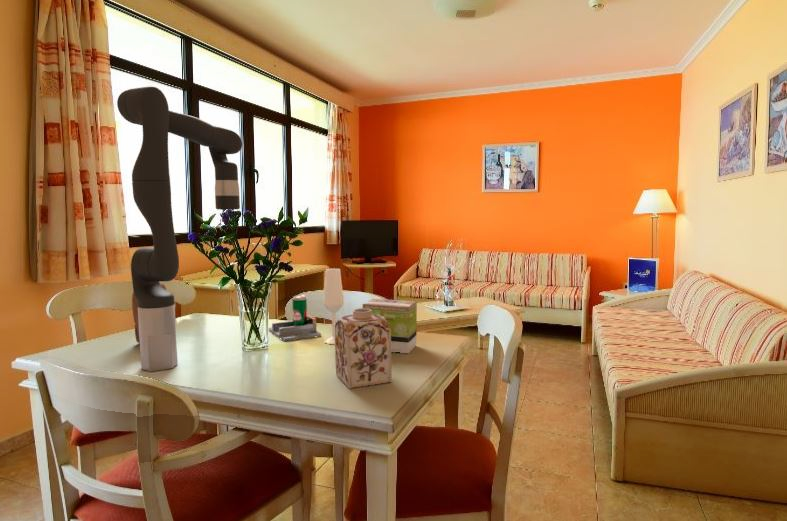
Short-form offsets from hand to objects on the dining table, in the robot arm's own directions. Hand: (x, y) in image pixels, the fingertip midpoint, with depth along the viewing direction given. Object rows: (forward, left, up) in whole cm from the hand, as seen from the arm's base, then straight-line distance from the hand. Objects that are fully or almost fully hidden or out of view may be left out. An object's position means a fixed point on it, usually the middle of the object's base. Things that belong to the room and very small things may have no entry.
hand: (229, 244), depth 164 cm
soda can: (-2, -23, -31) cm, 39 cm away
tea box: (-36, -40, -32) cm, 63 cm away
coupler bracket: (-2, -21, -32) cm, 38 cm away
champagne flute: (-20, -28, -32) cm, 47 cm away
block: (+9, +24, -32) cm, 41 cm away
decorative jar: (-57, -20, -32) cm, 69 cm away
